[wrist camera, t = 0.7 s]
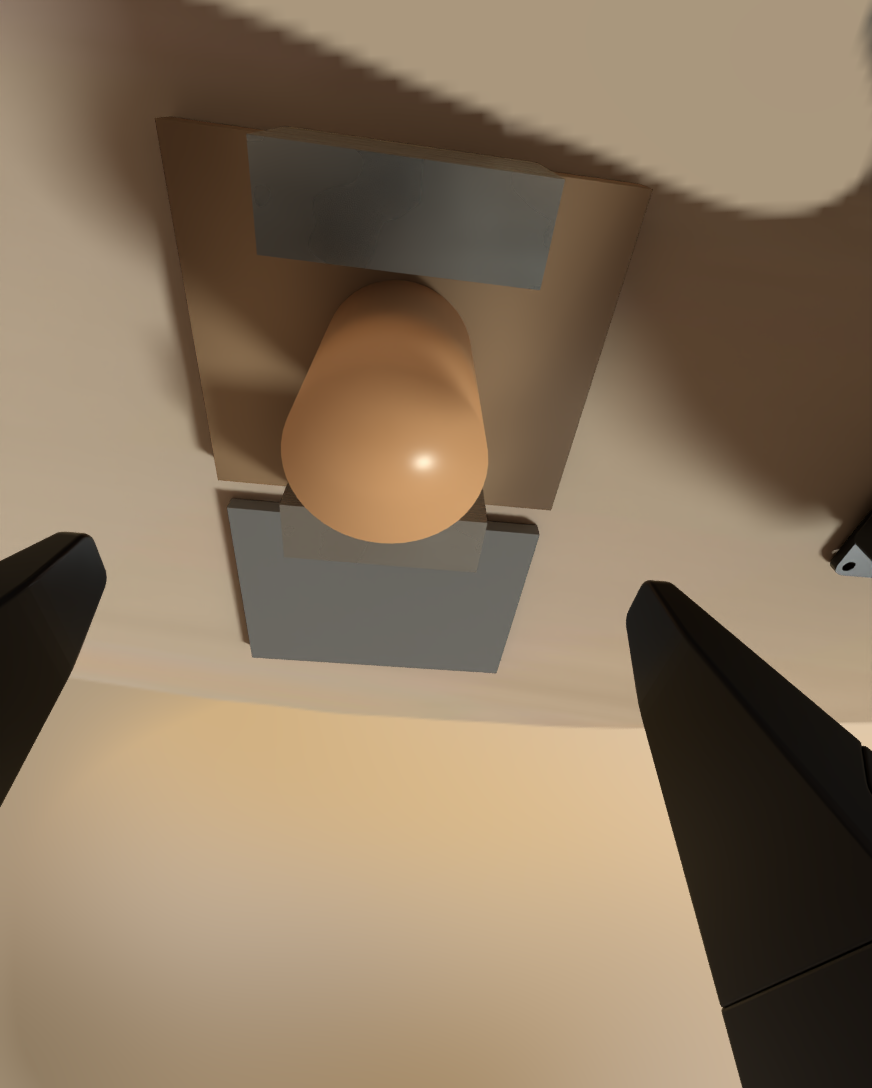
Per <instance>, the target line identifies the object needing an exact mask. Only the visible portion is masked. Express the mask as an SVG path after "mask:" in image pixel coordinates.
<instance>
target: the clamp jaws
mask: <svg viewBox="0 0 872 1088" xmlns="http://www.w3.org/2000/svg"><path fill="white" fill-rule="evenodd" d="M246 138H247V149H248V160H249V171H250V182H251V194H252V205H253V216H254V227H255V238H256V249H257V255H261V256H269V257H277V258H285V259H293V260H301V261H309V262H317V263H325V264H333V265H341V266H349V267H357V268H365V269H373V270H381V271H389V272H397V273H405V274H413V275H421V276H429V277H437V278H445V279H453V280H461V281H469V282H477V283H485V284H493V285H501V286H509V287H517V288H525V289H533V290H540V289H541V284H542V280H543V275H544V271H545V267H546V262H547V258H548V253H549V249H550V245H551V240H552V236H553V231H554V227H555V222H556V218H557V214H558V209H559V205H560V200H561V196H562V192H563V187H564V183H565V179H564V178H562V177H560V176H559V175H557V174H555V173H554V172H552V171H550V170H549V169H547V168H545V167H544V166H542V165H541V164H539V163H537V162H530V161H523V160H516V159H510V158H503V157H496V156H489V155H482V154H475V153H468V152H461V151H454V150H447V149H441V148H434V147H427V146H420V145H413V144H406V143H399V142H392V141H385V140H378V139H372V138H365V137H358V136H351V135H344V134H337V133H330V132H323V131H316V130H309V129H302V128H296V127H289V126H284V127H279V128H274V129H269V130H263V131H258V132H253V133H248V134H246ZM279 506H280V517H281V529H282V540H283V551H284V557H288V558H300V559H313V560H325V561H338V562H350V563H363V564H375V565H388V566H400V567H412V568H425V569H437V570H450V571H462V572H475V573H476V572H477V567H478V563H479V558H480V554H481V550H482V545H483V541H484V536H485V532H486V527H487V516H486V508H485V501H484V493H483V488H482V490H481V492H480V494H479V496H478V498H477V500H476V501H475V503H474V504H473V506H472V507H471V508H470V509H469V510H468V512H467V513H466V514H465V515H464V516H463V517H461V518H460V519H459V520H458V521H457V522H456V523H454V524H453V525H451V526H450V527H448V528H447V529H445V530H443V531H441V532H439V533H437V534H435V535H432V536H430V537H427V538H424V539H420V540H417V541H412V542H406V543H393V544H391V543H376V542H368V541H364V540H360V539H356V538H353V537H350V536H347V535H345V534H342V533H340V532H338V531H336V530H334V529H332V528H331V527H329V526H327V525H326V524H324V523H323V522H321V521H320V520H319V519H317V518H316V517H315V516H314V515H312V514H311V513H310V512H309V511H308V510H307V509H306V508H305V507H304V505H303V504H302V503H301V502H300V501H299V499H298V498H297V497H296V495H295V493H294V492H293V490H292V489H291V487H290V485H289V482H288V483H287V485H286V488H285V491H284V494H283V496H282V499H281V502H280V504H279Z"/></svg>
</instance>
